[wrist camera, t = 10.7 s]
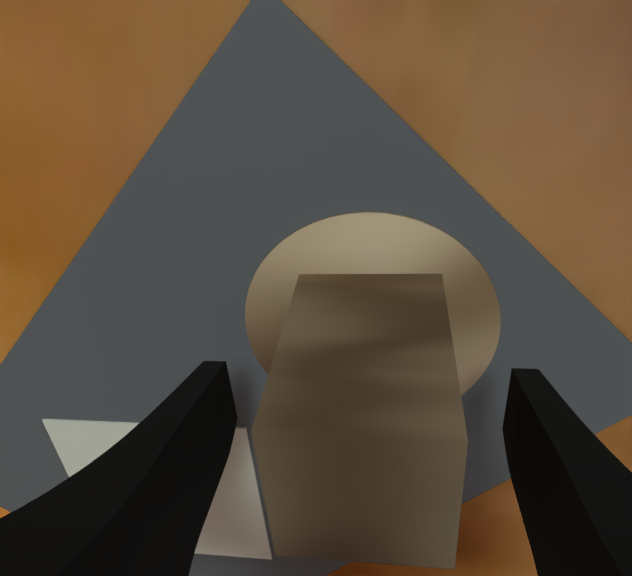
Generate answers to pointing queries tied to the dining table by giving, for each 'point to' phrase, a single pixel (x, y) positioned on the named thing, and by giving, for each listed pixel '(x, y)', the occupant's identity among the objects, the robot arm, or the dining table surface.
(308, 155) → the charcoal mat
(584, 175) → the dining table surface
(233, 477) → the card
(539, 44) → the dining table surface
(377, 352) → the walnut block
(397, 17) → the dining table surface
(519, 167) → the dining table surface
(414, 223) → the cork coaster
